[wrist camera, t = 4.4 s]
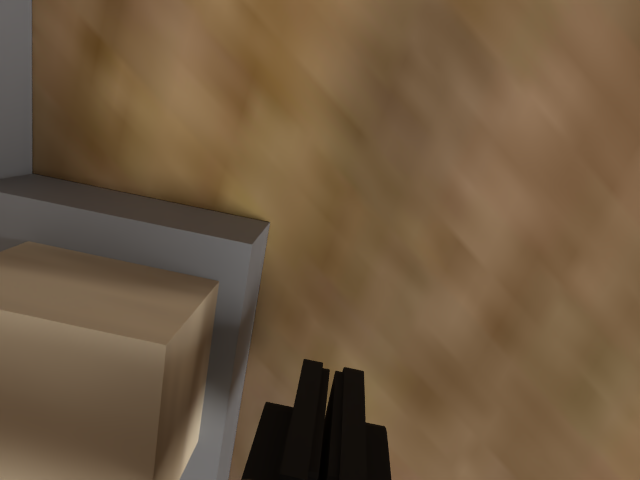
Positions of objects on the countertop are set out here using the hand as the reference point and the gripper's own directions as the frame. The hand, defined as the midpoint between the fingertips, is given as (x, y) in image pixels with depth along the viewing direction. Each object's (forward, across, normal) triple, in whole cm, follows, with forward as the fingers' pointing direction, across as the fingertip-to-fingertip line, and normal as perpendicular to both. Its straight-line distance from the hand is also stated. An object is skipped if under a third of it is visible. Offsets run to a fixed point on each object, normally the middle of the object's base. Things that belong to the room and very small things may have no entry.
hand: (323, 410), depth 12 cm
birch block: (+1, +6, 0) cm, 6 cm away
